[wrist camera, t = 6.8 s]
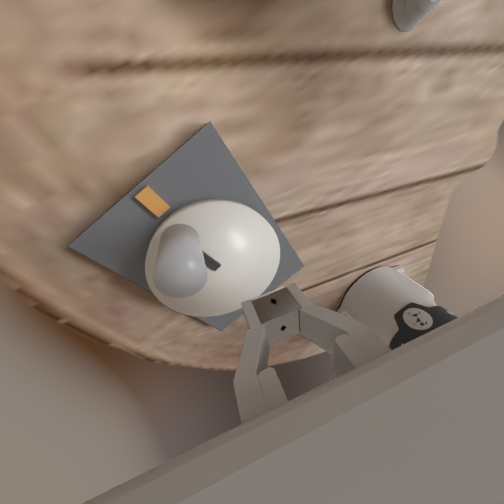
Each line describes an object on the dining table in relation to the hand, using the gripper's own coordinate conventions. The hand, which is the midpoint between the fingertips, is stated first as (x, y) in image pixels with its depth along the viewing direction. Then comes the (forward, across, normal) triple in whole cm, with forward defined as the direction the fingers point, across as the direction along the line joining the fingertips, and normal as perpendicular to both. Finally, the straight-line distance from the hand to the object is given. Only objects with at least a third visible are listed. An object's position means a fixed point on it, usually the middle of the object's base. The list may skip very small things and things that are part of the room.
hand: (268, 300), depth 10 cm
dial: (+13, +2, +5) cm, 14 cm away
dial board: (+15, +2, +5) cm, 16 cm away
